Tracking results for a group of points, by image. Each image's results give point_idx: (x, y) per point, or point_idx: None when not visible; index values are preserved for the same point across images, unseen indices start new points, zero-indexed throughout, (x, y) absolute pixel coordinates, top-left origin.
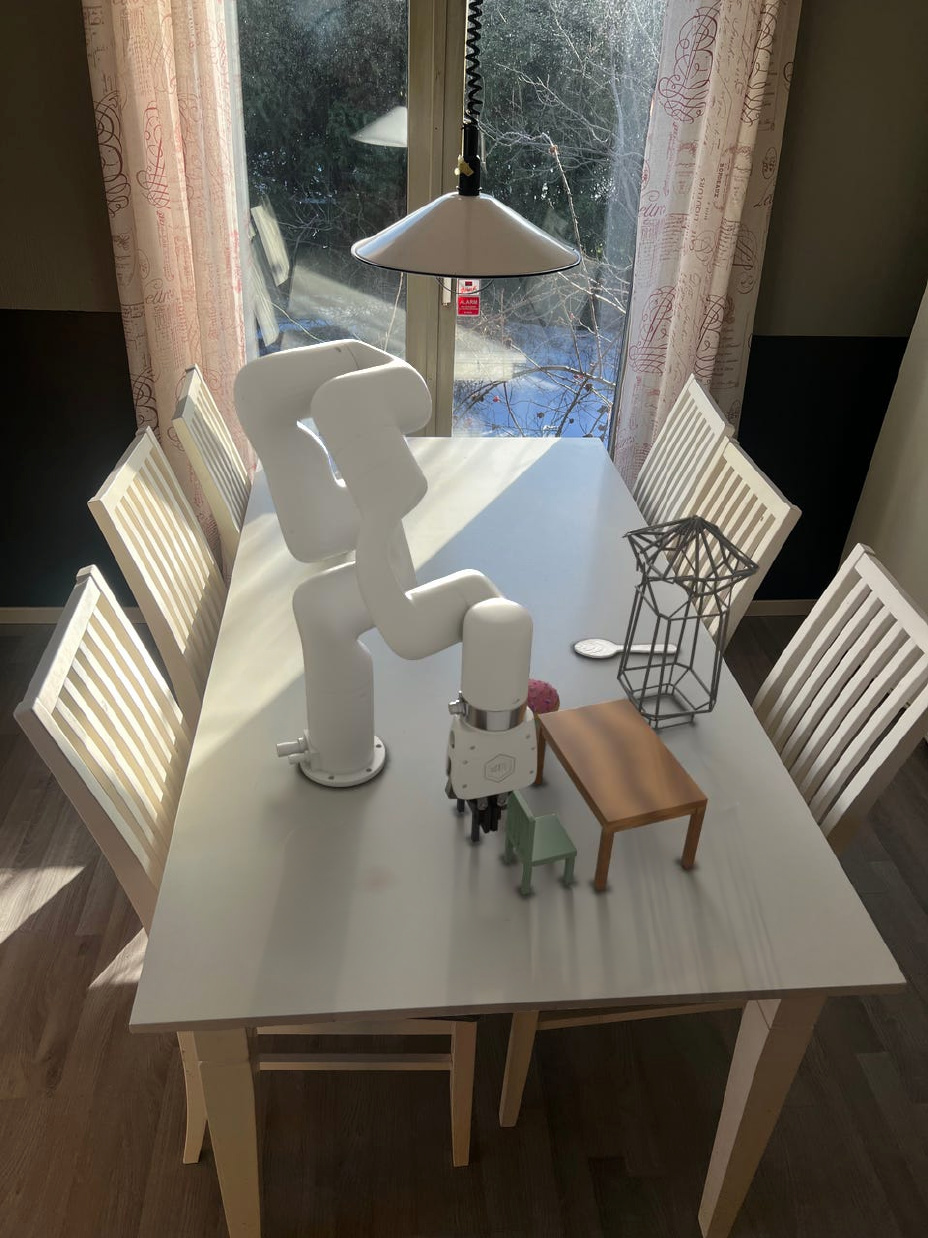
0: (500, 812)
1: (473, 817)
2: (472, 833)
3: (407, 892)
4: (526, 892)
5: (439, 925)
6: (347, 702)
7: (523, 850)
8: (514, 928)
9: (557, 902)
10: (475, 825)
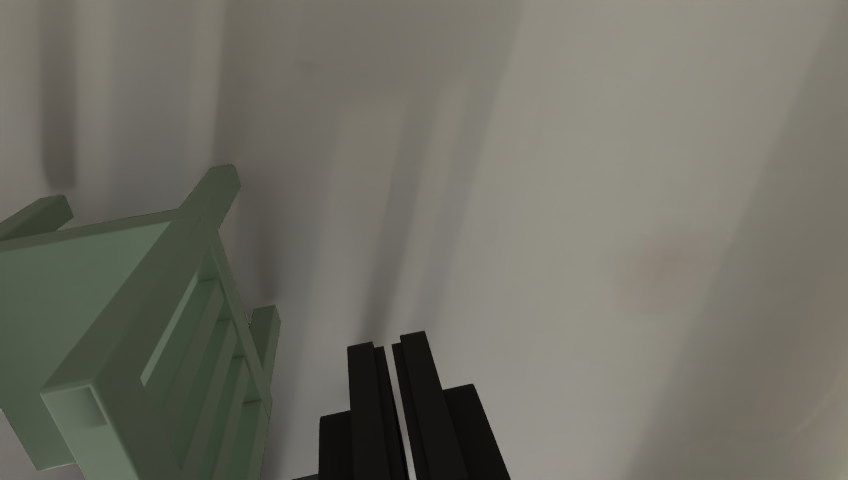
0: (325, 464)
1: None
2: None
3: (596, 218)
4: (221, 168)
5: (538, 77)
6: None
7: (204, 284)
8: (287, 21)
9: (106, 119)
10: None
